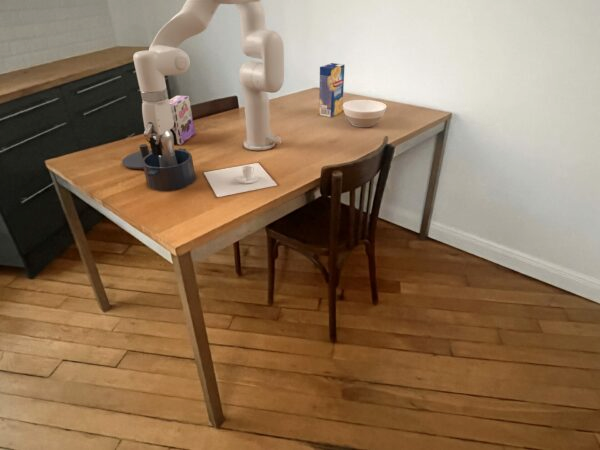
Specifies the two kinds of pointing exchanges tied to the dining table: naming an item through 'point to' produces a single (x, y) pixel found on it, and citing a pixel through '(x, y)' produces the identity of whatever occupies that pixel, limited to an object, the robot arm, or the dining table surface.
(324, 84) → the blue cardboard box
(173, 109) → the candy box
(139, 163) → the lid
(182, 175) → the dark blue cooking pot
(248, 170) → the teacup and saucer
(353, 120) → the bowl
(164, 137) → the metal water bottle
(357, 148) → the dining table surface
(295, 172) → the dining table surface
